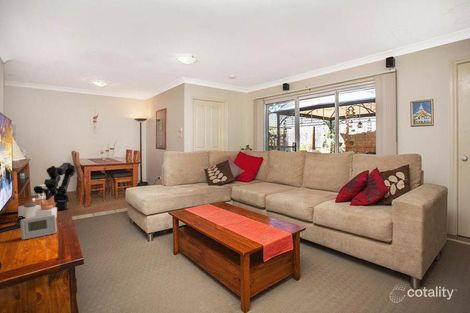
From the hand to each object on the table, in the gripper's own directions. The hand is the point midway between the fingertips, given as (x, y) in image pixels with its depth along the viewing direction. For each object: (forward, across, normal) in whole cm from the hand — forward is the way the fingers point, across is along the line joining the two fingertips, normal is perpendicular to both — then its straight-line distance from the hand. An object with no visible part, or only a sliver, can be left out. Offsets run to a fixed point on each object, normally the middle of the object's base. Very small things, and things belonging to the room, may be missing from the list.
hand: (46, 199), depth 168 cm
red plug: (+8, 0, +9) cm, 12 cm away
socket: (+2, -14, +17) cm, 22 cm away
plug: (+2, -14, +16) cm, 21 cm away
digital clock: (+34, +10, -15) cm, 39 cm away
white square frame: (+9, 0, +10) cm, 13 cm away
